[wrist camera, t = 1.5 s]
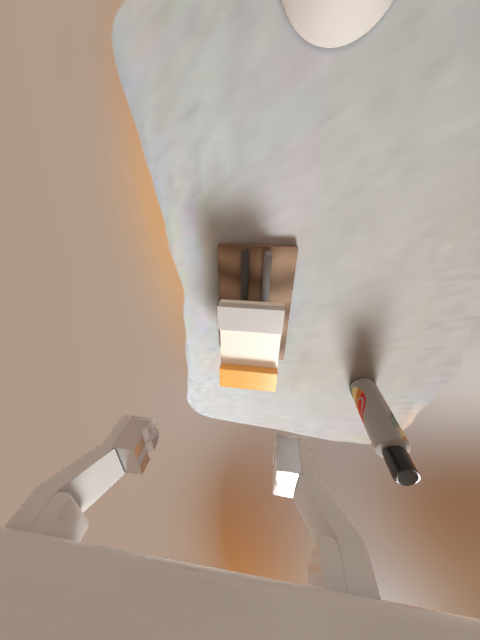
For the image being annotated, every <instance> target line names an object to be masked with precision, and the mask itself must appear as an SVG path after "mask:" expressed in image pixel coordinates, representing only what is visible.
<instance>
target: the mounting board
mask: <svg viewBox="0 0 480 640" xmlns="http://www.w3.org/2000/svg"><path fill="white" fill-rule="evenodd" d="M244 249H246V250H248V251H249V273H248V301H258V302H261V295H262V279H263V263H264V253H265V251H267V250H270V251H271V252H272V263H271V276H270V288H269V301H268V302H274V303H284V306H285V316H284V324H283V332H282V334H281V340H280V349H279V357H278V359H282V360H283V358H284V351H285V343H286V335H287V328H288V320H289V313H290V305H291V298H292V290H293V282H294V275H295V267H296V260H297V252H298V247H297V246H282V245H253V244H225V243H219V244H218V269H219V299H220V300H221V299H226V300H240V295H241V252H242V250H244Z"/></svg>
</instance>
